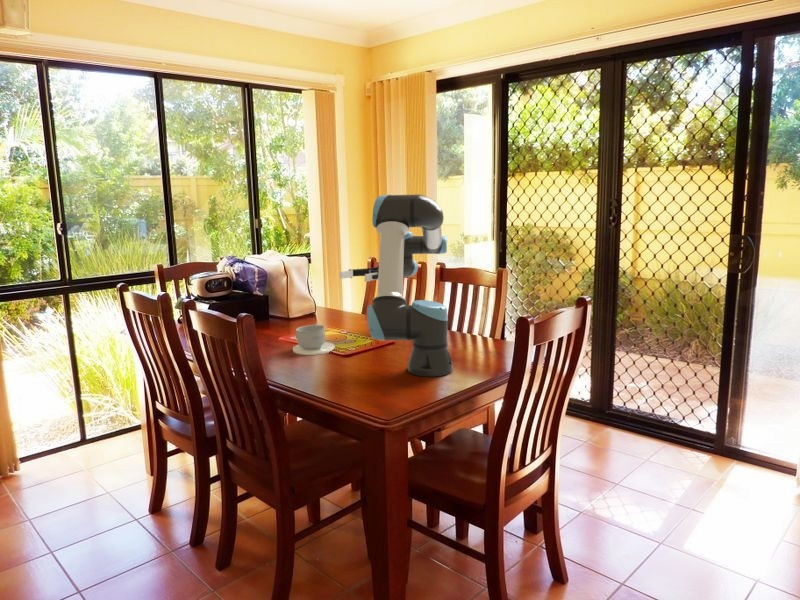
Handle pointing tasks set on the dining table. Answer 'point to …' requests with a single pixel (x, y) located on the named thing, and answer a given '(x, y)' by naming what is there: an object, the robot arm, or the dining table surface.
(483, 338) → the dining table surface
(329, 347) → the saucer
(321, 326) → the teacup
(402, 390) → the dining table surface
